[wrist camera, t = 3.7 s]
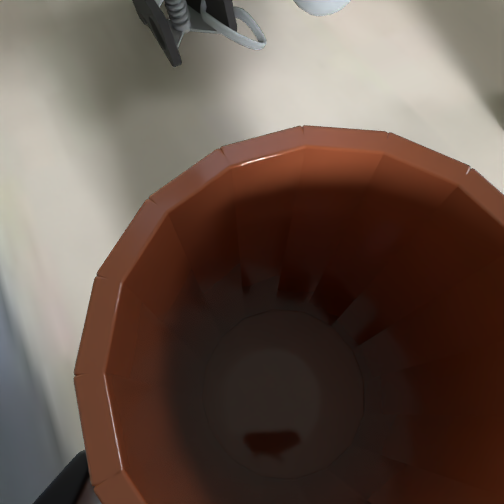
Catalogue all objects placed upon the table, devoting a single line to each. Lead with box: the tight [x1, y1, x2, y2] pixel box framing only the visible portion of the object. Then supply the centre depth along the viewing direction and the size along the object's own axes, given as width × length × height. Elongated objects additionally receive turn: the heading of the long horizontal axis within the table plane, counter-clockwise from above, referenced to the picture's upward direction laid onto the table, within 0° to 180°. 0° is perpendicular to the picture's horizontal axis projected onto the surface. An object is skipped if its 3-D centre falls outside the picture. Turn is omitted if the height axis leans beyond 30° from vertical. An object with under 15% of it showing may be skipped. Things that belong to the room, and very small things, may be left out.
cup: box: [74, 125, 504, 504], centre depth 12 cm, size 7×7×13 cm
